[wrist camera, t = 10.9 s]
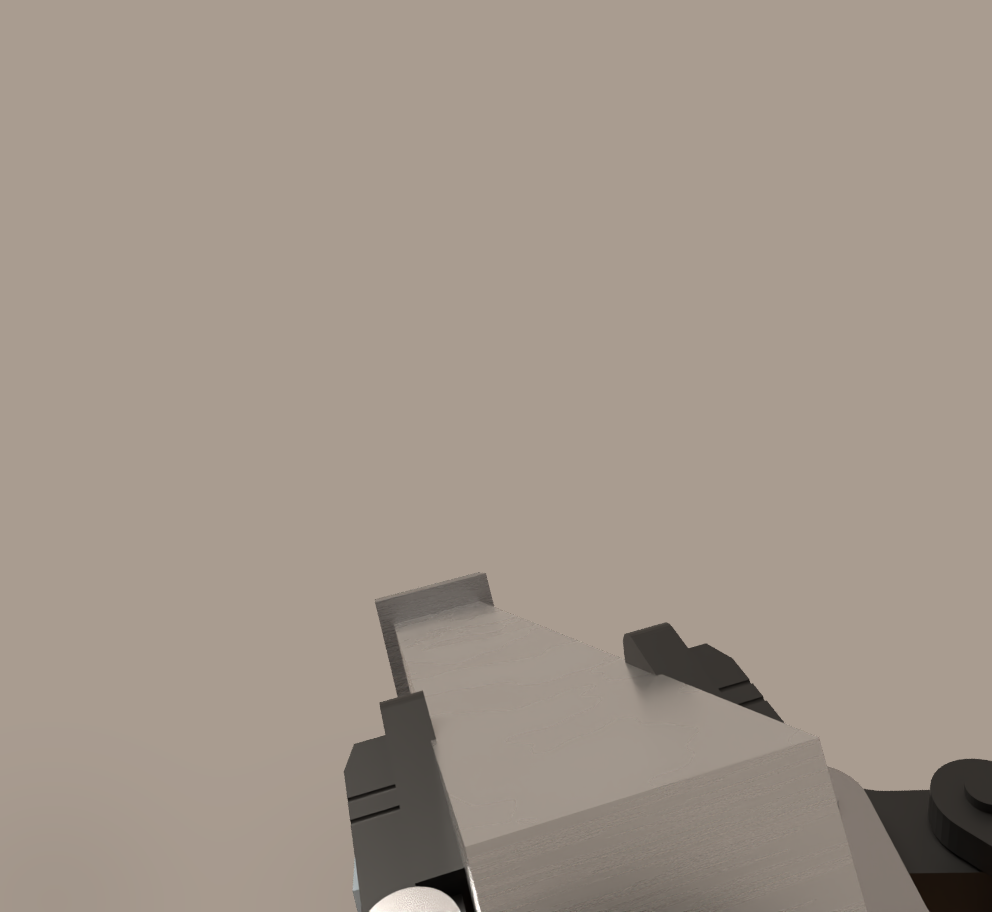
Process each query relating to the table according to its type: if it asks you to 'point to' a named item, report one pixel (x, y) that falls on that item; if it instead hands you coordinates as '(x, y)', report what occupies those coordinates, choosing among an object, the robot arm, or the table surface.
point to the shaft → (609, 773)
